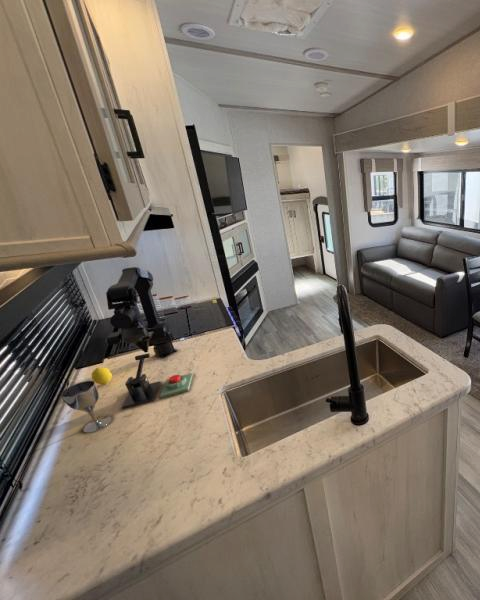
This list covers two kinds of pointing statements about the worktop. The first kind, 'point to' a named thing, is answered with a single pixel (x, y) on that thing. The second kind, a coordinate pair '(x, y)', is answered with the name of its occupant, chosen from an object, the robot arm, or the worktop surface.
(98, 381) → the lemon
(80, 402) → the wine glass
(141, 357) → the lever
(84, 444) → the worktop surface
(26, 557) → the worktop surface
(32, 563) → the worktop surface
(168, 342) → the robot arm
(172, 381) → the button
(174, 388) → the control block
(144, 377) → the bracket
